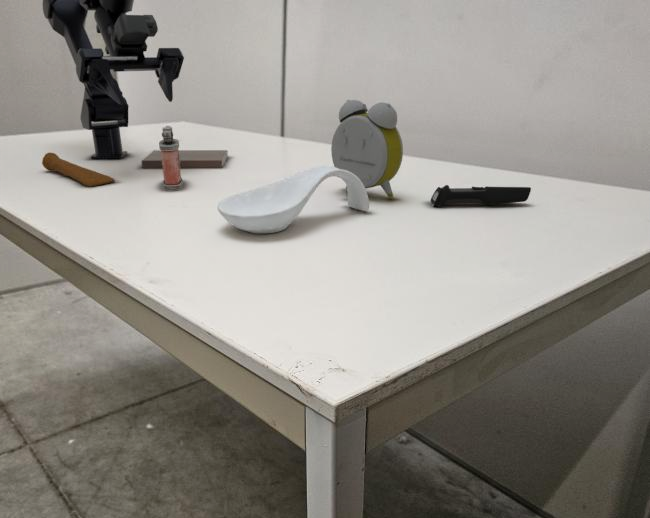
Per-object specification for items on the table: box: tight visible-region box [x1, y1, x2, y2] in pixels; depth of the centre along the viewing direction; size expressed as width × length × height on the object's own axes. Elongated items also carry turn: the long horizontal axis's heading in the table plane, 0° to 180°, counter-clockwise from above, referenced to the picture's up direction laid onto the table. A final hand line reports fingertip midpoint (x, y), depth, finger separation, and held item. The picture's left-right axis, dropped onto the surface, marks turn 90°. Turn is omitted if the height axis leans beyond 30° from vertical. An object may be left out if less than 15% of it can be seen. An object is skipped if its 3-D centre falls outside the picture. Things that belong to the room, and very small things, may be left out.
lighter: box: [158, 125, 184, 192], centre depth 108 cm, size 8×3×10 cm, turn 11°
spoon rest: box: [216, 165, 370, 234], centre depth 88 cm, size 24×12×7 cm, turn 127°
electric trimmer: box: [430, 184, 532, 208], centre depth 98 cm, size 4×16×3 cm, turn 91°
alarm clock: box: [330, 99, 404, 200], centre depth 100 cm, size 12×7×15 cm, turn 47°
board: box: [141, 149, 229, 169], centre depth 129 cm, size 12×16×2 cm
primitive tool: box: [41, 152, 115, 187], centre depth 115 cm, size 19×6×4 cm, turn 51°
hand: (147, 101), depth 110 cm, fingers open, 9 cm apart
